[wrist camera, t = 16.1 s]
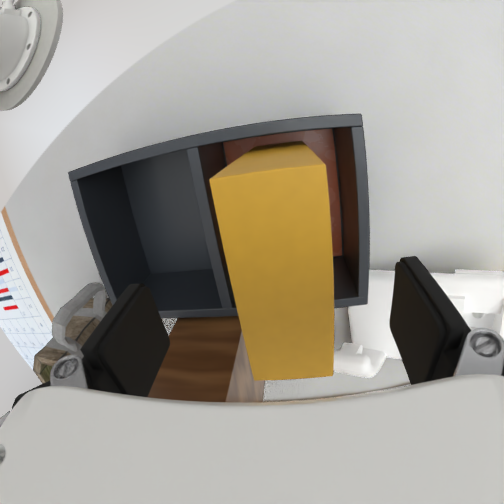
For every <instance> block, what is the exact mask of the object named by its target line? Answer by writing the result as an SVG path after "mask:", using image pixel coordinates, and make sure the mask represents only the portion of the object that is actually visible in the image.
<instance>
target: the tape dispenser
mask: <svg viewBox="0 0 504 504" xmlns="http://www.w3.org/2000/svg"><path fill="white" fill-rule="evenodd" d="M430 274H431V275H432V277H433V278H434V279H435V280H436V282H437V283H438V284H439V286H440V287H441V288H442V290H443V291H444V292H445V294H446V295H447V296H448V298H449V299H450V300H451V302H452V303H453V305H454V306H455V307H456V309H457V310H458V312H459V313H460V314H461V316H462V317H463V319H464V320H465V322H466V323H467V325H468V326H469V328H470V329H471V331H472V330H474V329H476V328H488V329H491V330H493V331H495V332H497V333H498V334H499V335H500V336H501V337H502V338H503V340H504V271H487V270H462V269H455V274H448V273H430ZM394 277H395V271H387V270H369V288H368V304H367V305H358V306H350V307H348V313H349V321H350V330H351V339H352V344H351V343H343V345H342V347H341V348H340V350H337V349H334V368H333V371H335V372H339V373H343V374H348V375H353V376H358V377H363V378H371V377H373V376H375V375H376V374H377V373H378V372H379V370H380V369H381V367H382V365H383V363H384V361H385V359H386V357H387V358H394V359H401V360H402V358H401V356H400V353H399V350H398V348H397V345H396V343H395V340H394V338H393V335H392V333H391V330H390V325H389V321H390V313H391V305H392V297H393V288H394Z"/></svg>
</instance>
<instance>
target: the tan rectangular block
mask: <svg viewBox="0 0 504 504" xmlns="http://www.w3.org/2000/svg"><path fill="white" fill-rule="evenodd" d="M169 339H170V346H169V349H168V351H167V353H166V355H165V358H164V360H163V362H162V365H161V367H160V369H159V371H158V374H157V376H156V378H155V381H154V383H153V385H152V388H151V390H150V392H149V395H148V397H149V398H158V399H169V400H182V401H199V402H231V403H250V402H263V395H264V386H265V380H259V381H255V380H254V378H253V374H252V370H251V366H250V362H249V358H248V354H247V350H246V346H245V342H244V337H243V333H242V329H241V325H240V320H239V316H222V317H194V318H178V319H177V321H176V323H175V325H174V327H173V329H172V331H171V333H170V335H169Z"/></svg>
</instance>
